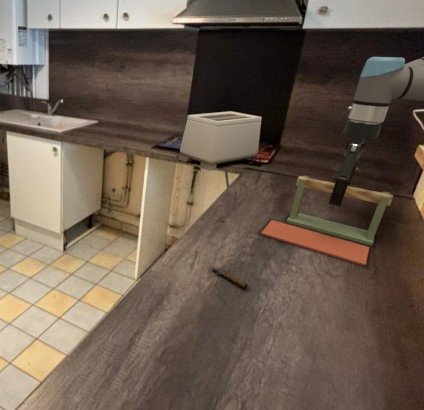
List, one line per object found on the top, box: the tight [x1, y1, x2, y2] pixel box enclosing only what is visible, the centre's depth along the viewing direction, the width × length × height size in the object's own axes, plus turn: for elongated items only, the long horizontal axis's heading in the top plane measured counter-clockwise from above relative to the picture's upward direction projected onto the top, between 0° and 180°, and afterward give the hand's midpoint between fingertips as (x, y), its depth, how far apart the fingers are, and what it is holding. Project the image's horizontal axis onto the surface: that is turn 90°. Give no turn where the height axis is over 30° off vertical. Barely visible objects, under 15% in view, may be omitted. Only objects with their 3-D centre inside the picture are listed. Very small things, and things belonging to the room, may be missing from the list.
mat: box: [260, 219, 370, 267], centre depth 97 cm, size 24×11×1 cm, turn 50°
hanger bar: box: [295, 175, 394, 207], centre depth 100 cm, size 22×2×2 cm, turn 50°
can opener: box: [212, 266, 249, 289], centre depth 80 cm, size 9×2×1 cm, turn 29°
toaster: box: [177, 111, 263, 172], centre depth 164 cm, size 19×34×21 cm, turn 119°
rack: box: [285, 175, 391, 247], centre depth 102 cm, size 21×8×14 cm, turn 50°
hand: (338, 197), depth 101 cm, fingers open, 13 cm apart
